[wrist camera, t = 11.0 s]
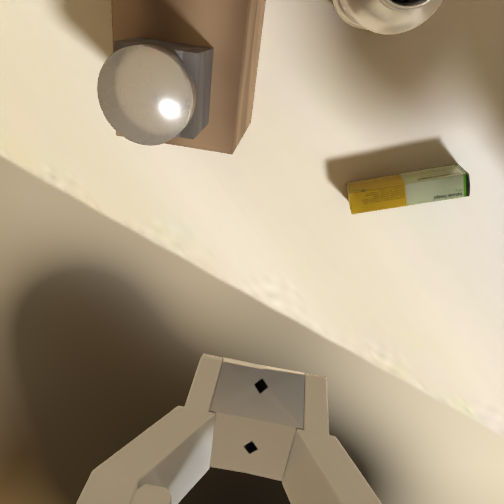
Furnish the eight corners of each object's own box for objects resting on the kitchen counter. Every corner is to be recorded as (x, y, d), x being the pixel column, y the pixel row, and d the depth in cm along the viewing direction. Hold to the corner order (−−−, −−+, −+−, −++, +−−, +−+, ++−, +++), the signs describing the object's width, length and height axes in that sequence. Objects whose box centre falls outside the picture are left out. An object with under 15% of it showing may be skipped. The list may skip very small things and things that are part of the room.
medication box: (459, 161, 45) (471, 172, 42) (459, 184, 46) (471, 197, 43) (345, 181, 48) (347, 193, 44) (348, 203, 49) (351, 217, 46)
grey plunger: (214, 46, 31) (192, 53, 25) (208, 129, 34) (187, 152, 28) (133, 34, 31) (94, 38, 25) (134, 117, 34) (100, 137, 28)
